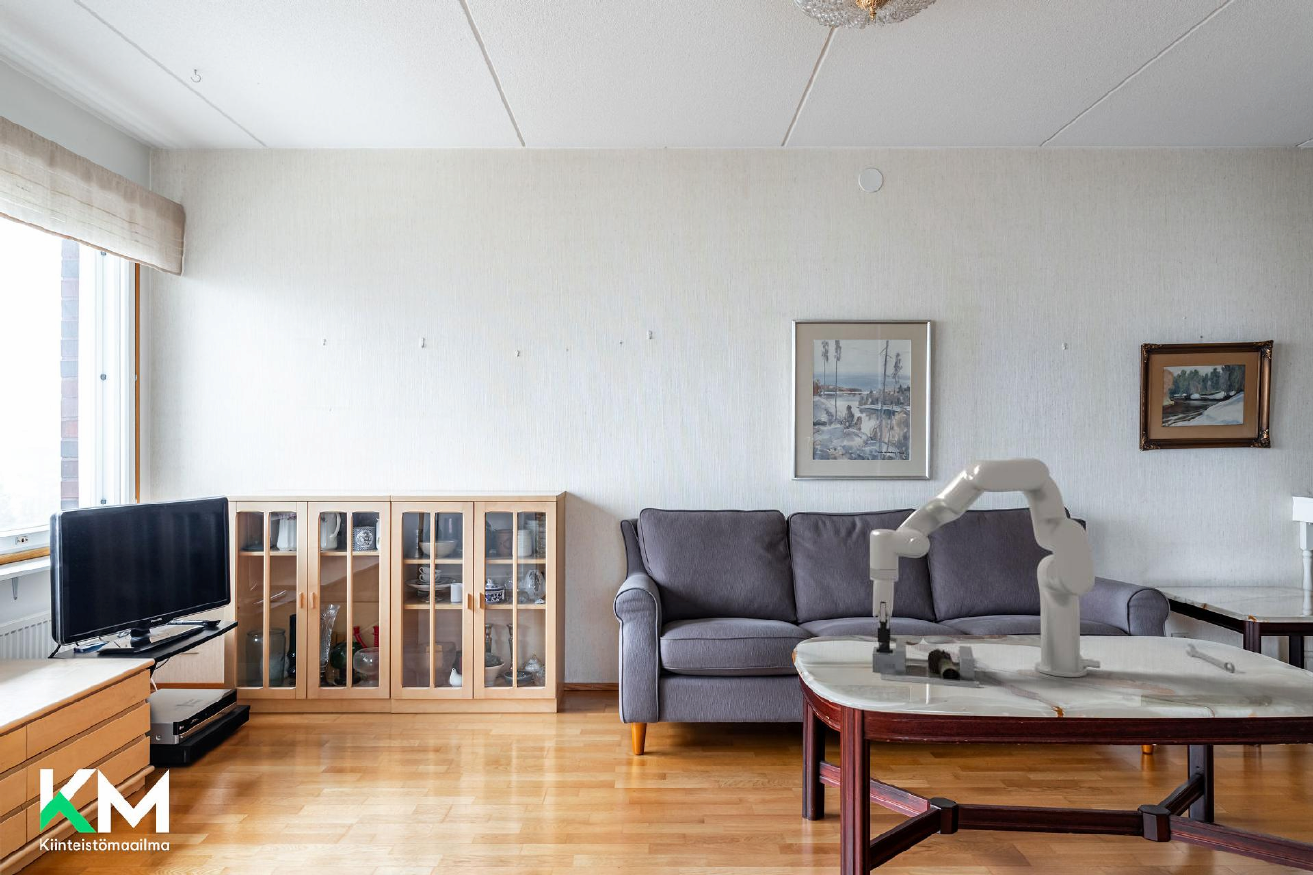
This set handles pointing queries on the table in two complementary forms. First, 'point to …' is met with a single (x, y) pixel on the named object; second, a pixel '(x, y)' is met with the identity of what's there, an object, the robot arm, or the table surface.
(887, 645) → the grey cylinder orange cap
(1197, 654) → the combination wrench
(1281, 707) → the table surface
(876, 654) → the tailstock
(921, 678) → the grey flat plate
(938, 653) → the brown wood log
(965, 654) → the block
